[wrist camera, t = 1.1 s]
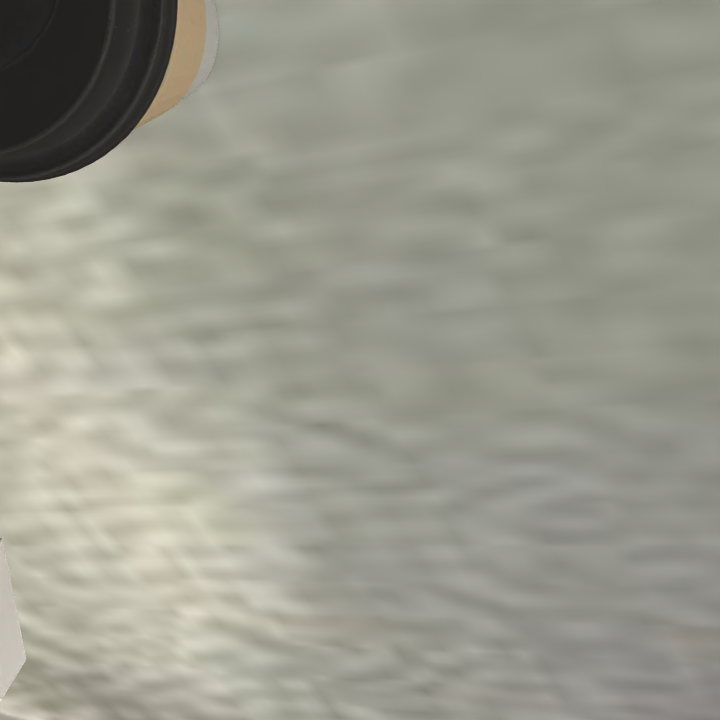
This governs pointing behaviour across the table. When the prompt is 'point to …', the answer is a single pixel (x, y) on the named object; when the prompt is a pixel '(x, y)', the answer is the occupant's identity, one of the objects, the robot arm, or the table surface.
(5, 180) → the coffee cup
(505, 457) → the table surface
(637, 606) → the table surface
